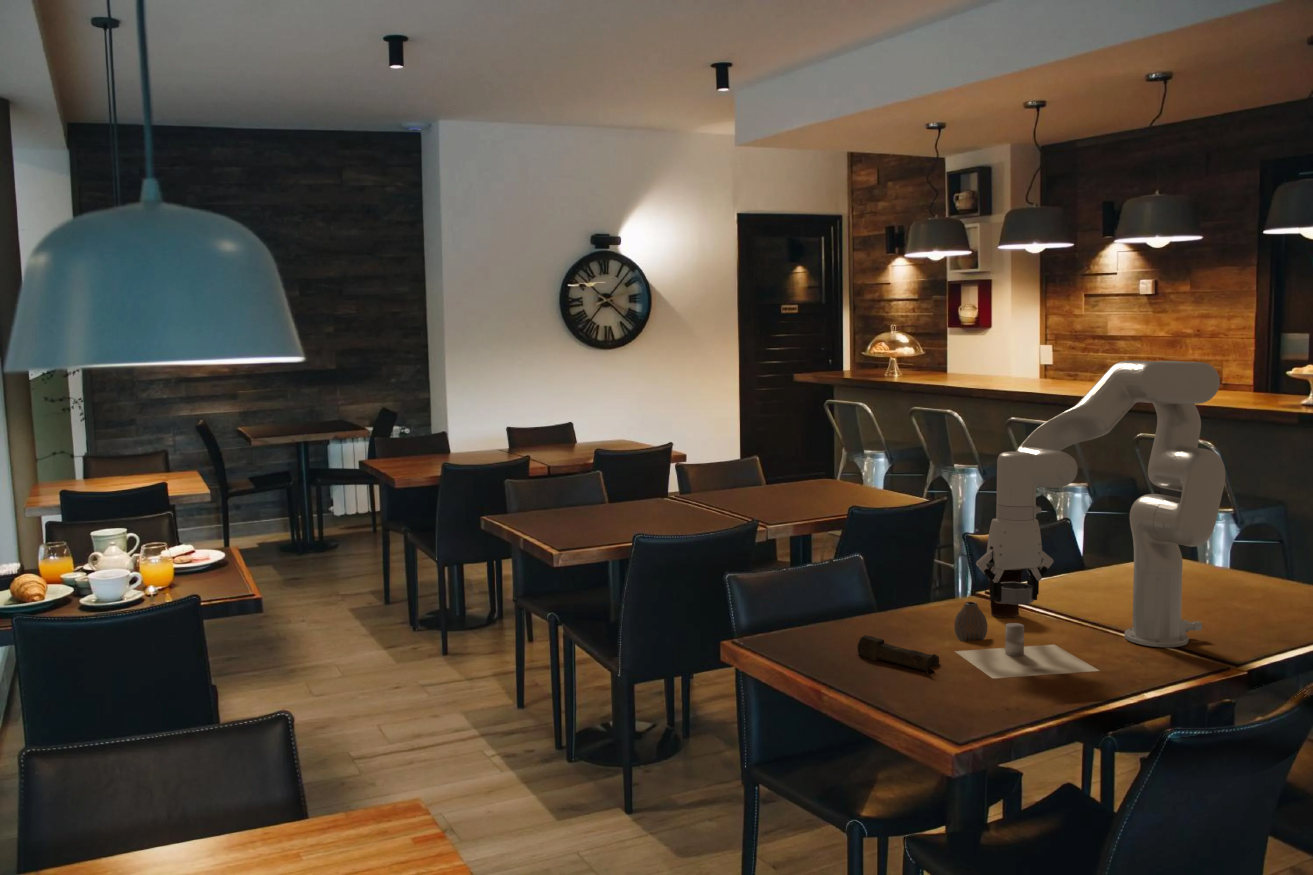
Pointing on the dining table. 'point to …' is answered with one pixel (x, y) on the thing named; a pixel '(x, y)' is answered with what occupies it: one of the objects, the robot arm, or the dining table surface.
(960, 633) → the vase
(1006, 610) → the coffee cup
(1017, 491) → the robot arm
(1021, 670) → the board
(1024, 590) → the ring
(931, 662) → the hand tool
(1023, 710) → the dining table surface
